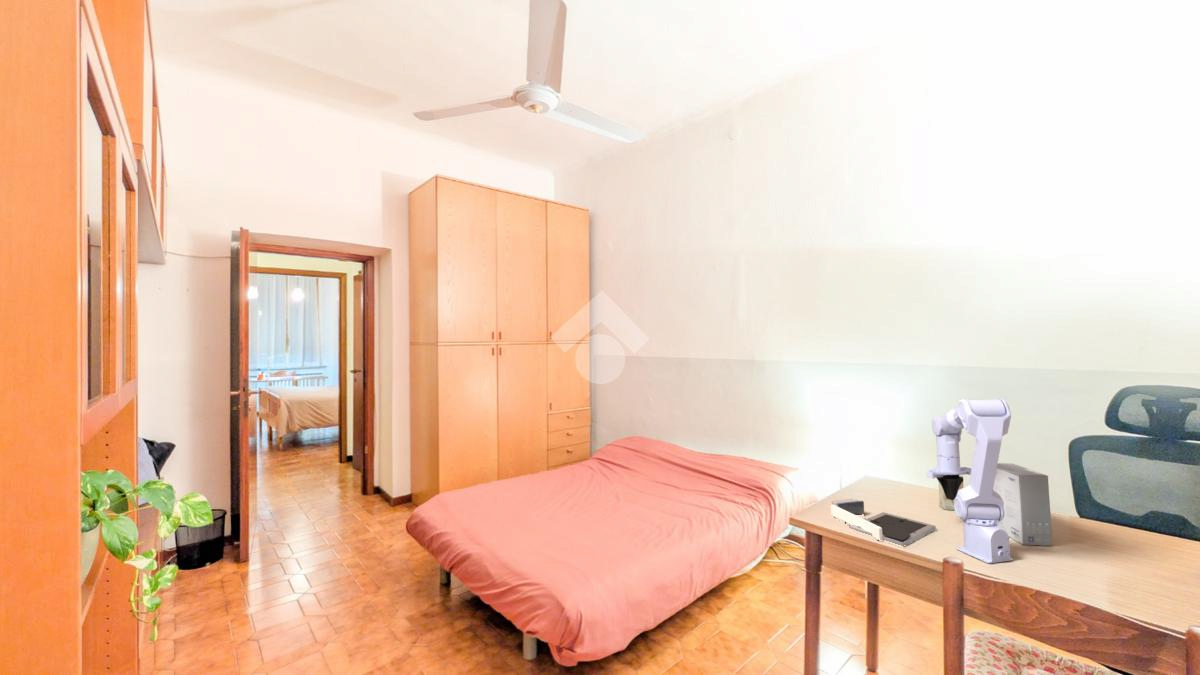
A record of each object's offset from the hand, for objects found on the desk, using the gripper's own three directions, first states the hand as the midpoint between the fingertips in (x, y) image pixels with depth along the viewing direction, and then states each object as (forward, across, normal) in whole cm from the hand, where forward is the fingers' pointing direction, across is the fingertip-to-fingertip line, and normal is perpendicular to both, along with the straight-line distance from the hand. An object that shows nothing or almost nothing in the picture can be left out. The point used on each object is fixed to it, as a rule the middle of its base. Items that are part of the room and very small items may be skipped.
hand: (950, 499), depth 147 cm
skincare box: (+10, -16, -15) cm, 24 cm away
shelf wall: (+9, +27, -9) cm, 30 cm away
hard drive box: (+10, -14, +9) cm, 19 cm away
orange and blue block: (+9, +22, -20) cm, 31 cm away
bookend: (+9, +22, -16) cm, 29 cm away
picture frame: (+10, +18, -4) cm, 21 cm away
